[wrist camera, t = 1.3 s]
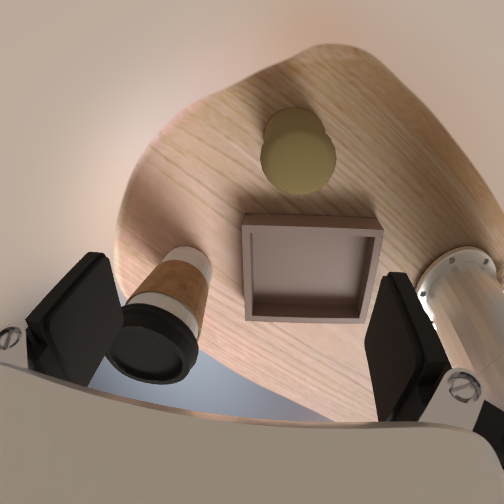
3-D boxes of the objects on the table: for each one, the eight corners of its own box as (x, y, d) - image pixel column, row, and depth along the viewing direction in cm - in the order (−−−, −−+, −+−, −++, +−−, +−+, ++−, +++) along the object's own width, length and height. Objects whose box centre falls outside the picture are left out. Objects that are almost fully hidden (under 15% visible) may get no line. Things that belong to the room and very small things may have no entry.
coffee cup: (150, 233, 36) (87, 316, 23) (222, 238, 35) (185, 331, 22) (159, 293, 40) (113, 382, 27) (224, 299, 40) (197, 398, 26)
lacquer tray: (376, 218, 32) (384, 230, 30) (360, 307, 38) (364, 323, 36) (245, 213, 34) (241, 225, 31) (248, 304, 40) (245, 320, 37)
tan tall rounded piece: (301, 179, 31) (308, 224, 22) (251, 145, 30) (233, 174, 21) (338, 132, 29) (364, 155, 19) (287, 95, 27) (287, 98, 18)
